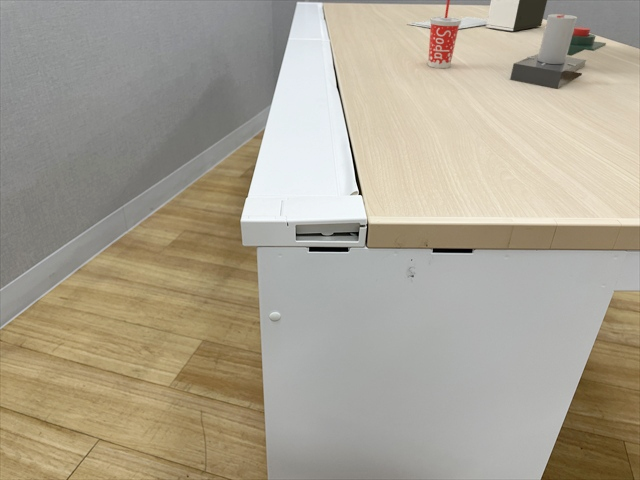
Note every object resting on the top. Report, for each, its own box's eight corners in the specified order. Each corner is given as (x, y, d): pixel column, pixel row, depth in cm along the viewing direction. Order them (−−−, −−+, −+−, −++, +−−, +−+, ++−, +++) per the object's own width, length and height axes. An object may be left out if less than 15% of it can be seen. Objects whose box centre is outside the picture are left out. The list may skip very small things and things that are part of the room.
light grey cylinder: (542, 57, 97) (554, 11, 93) (568, 61, 94) (581, 14, 90) (533, 61, 94) (544, 14, 90) (559, 65, 91) (572, 17, 87)
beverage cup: (418, 65, 102) (428, -10, 94) (432, 60, 106) (442, -12, 98) (446, 70, 99) (458, -7, 91) (458, 65, 103) (471, -9, 95)
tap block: (536, 67, 103) (540, 51, 101) (582, 75, 98) (587, 59, 96) (509, 79, 94) (513, 62, 92) (557, 88, 89) (563, 70, 87)
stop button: (589, 36, 115) (592, 28, 115) (585, 38, 113) (587, 30, 112) (574, 34, 117) (576, 26, 117) (569, 36, 115) (571, 28, 114)
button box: (603, 52, 118) (608, 34, 116) (590, 58, 111) (596, 40, 109) (560, 46, 123) (565, 29, 121) (546, 52, 117) (551, 34, 115)
